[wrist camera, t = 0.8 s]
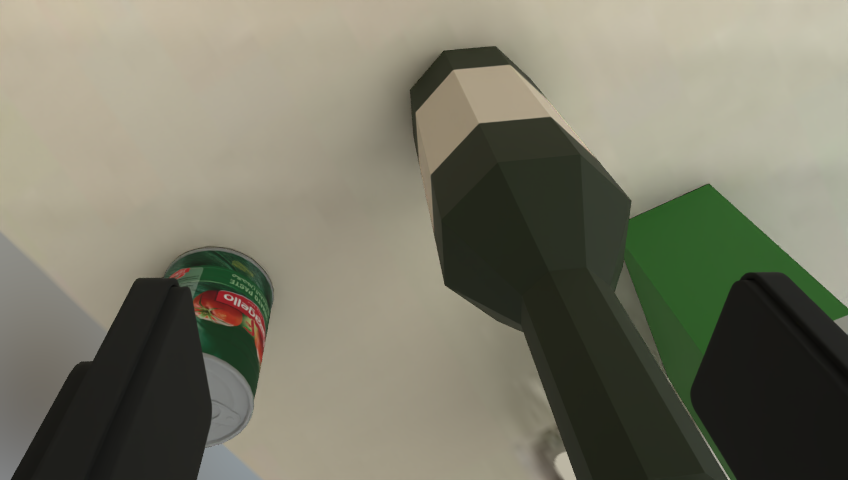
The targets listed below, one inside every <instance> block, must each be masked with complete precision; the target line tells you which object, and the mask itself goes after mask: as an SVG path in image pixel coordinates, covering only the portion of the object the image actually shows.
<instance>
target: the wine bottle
mask: <svg viewBox="0 0 848 480" xmlns="http://www.w3.org/2000/svg"><path fill="white" fill-rule="evenodd" d="M410 95H411V109H412V122H413V135H414V142H415V146H416V151H417V156H418V161H419V165H420V170H421V175H422V179H423V184H424V189H425V194H426V198H427V203H428V208H429V213H430V217H431V222H432V227H433V232H434V236H435V241H436V246H437V251H438V255H439V260H440V265H441V269H442V274H443V279H444V284H445V286H447V287H448V288H450V289H451V290H453V291H454V292H456V293H457V294H458V295H460V296H461V297H463V298H464V299H466V300H467V301H469V302H470V303H472V304H473V305H475V306H476V307H478V308H479V309H480V310H482V311H483V312H485V313H486V314H488V315H489V316H491V317H492V318H494V319H495V320H497V321H498V322H501V323H503V324H505V325H508V326H510V327H512V328H515V329H517V330H519V331H522V332H524V335H525V338H526V340H527V343H528V346H529V349H530V351H531V354H532V357H533V360H534V363H535V365H536V368H537V371H538V374H539V376H540V379H541V382H542V385H543V388H544V390H545V393H546V396H547V399H548V401H549V404H550V407H551V410H552V413H553V415H554V418H555V421H556V424H557V426H558V429H559V432H560V435H561V438H562V440H563V443H564V446H565V449H566V451H567V454H568V457H569V460H570V463H571V465H572V468H573V471H574V473H575V476H576V479H577V480H728V479H727V477H726V476H725V474H724V472H723V471H722V469H721V468H720V466H719V464H718V463H717V461H716V459H715V458H714V456H713V454H712V453H711V451H710V449H709V448H708V446H707V445H706V443H705V441H704V440H703V438H702V436H701V435H700V433H699V431H698V430H697V428H696V426H695V425H694V423H693V421H692V420H691V418H690V417H689V415H688V413H687V412H686V410H685V408H684V407H683V405H682V403H681V402H680V400H679V398H678V397H677V395H676V393H675V392H674V390H673V389H672V387H671V385H670V384H669V382H668V380H667V379H666V377H665V375H664V374H663V372H662V370H661V369H660V367H659V366H658V364H657V362H656V361H655V359H654V357H653V356H652V354H651V352H650V351H649V349H648V347H647V346H646V344H645V342H644V341H643V339H642V338H641V336H640V334H639V333H638V331H637V329H636V328H635V326H634V324H633V323H632V321H631V319H630V318H629V316H628V315H627V313H626V311H625V310H624V308H623V306H622V305H621V303H620V301H619V300H618V298H617V296H616V295H615V293H614V291H615V288H616V285H617V282H618V279H619V276H620V273H621V270H622V267H623V260H624V253H625V245H626V238H627V230H628V223H629V215H630V208H631V200H630V199H629V197H628V196H627V195H626V194H625V193H624V191H623V190H622V189H621V188H620V187H619V185H618V184H617V183H616V182H615V181H614V179H613V178H612V177H611V176H610V174H609V173H608V172H607V171H606V170H605V168H604V167H603V166H602V165H601V164H600V162H599V161H598V160H597V159H596V158H595V156H594V155H593V154H592V153H591V152H590V150H589V149H588V148H587V147H586V145H585V144H584V143H583V142H582V141H581V139H580V138H579V137H578V136H577V135H576V133H575V132H574V131H573V130H572V129H571V127H570V126H569V125H568V124H567V122H566V121H565V120H564V119H563V118H562V116H561V115H560V114H559V113H558V112H557V110H556V109H555V108H554V107H553V106H552V104H551V103H550V102H549V101H548V100H547V98H546V97H545V96H544V95H543V93H542V92H541V91H540V90H539V89H538V87H537V86H536V85H535V84H534V83H533V81H532V80H531V79H530V78H529V77H528V76H527V75H526V74H525V73H524V72H522V71H521V70H520V69H519V68H518V67H517V66H516V65H515V64H514V63H513V62H512V61H511V60H510V59H509V58H508V57H507V56H505V55H504V54H503V53H502V52H501V51H500V50H499V49H498V48H497V47H496V46H493V47H481V48H470V49H458V50H447V51H443V53H442V54H441V55H440V56H439V57H438V58H437V60H436V61H435V62H434V63H433V64H432V65H431V67H430V68H429V69H428V70H427V71H426V72H425V73H424V75H423V76H422V77H421V78H420V79H419V80H418V82H417V83H416V84H415V85H414V86H413V87H412V89H411V90H410Z"/></svg>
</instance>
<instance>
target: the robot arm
mask: <svg viewBox="0 0 848 480" xmlns="http://www.w3.org/2000/svg"><path fill="white" fill-rule="evenodd" d="M690 398H691V403H692V406H693V408H694V410H695V412H696V413H697V415H698V417H699V418H700V420H701V422H702V423H703V425H704V427H705V428H706V430H707V432H708V433H709V435H710V436H711V438H712V440H713V441H714V443H715V445H716V446H717V448H718V450H719V451H720V453H721V455H722V456H723V458H724V460H725V461H726V463H727V464H728V466H729V468H730V469H731V471H732V473H733V474H734V476H735V478H736V479H737V480H848V335H847V334H846V333H845V332H844V331H843V330H842V329H841V328H840V327H839V326H838V325H837V324H836V323H835V322H834V321H833V320H832V319H831V318H830V317H829V316H828V315H827V314H826V313H825V312H824V311H823V310H822V309H821V308H820V307H819V306H818V305H817V304H816V303H815V302H814V301H813V300H812V299H810V298H809V297H808V296H807V295H806V294H805V293H804V292H803V291H802V290H801V289H800V288H799V287H798V286H797V285H796V284H795V283H794V282H793V281H792V280H791V279H790V278H789V277H788V276H787V275H785V274H784V273H781V272H749V273H745V274H744V275H743V276H742V277H741V279H740V280H739V281H736V282H735V283H733V285H732V287H731V289H730V291H729V294H728V296H727V299H726V301H725V304H724V306H723V309H722V311H721V314H720V316H719V319H718V321H717V324H716V326H715V329H714V331H713V334H712V336H711V339H710V341H709V344H708V346H707V349H706V351H705V354H704V356H703V359H702V361H701V364H700V366H699V369H698V371H697V374H696V376H695V379H694V381H693V384H692V387H691V390H690ZM211 420H212V402H211V396H210V391H209V385H208V380H207V375H206V369H205V364H204V358H203V353H202V348H201V342H200V337H199V331H198V326H197V321H196V315H195V310H194V304H193V299H192V294H191V290H190V288H189V287H179V283H178V281H177V279H175V278H138V279H136V281H135V282H134V283H133V285H132V287H131V289H130V291H129V293H128V295H127V297H126V299H125V301H124V302H123V304H122V306H121V308H120V310H119V312H118V314H117V316H116V318H115V320H114V322H113V324H112V325H111V327H110V329H109V331H108V333H107V335H106V337H105V339H104V341H103V343H102V345H101V347H100V348H99V350H98V352H97V354H96V356H95V358H94V360H93V361H90V362H80V363H79V364H77V365H76V366H75V367H74V368H73V370H72V371H71V373H70V374H69V376H68V377H67V379H66V381H65V383H64V385H63V386H62V389H61V390H60V392H59V394H58V396H57V397H56V399H55V401H54V403H53V405H52V407H51V408H50V410H49V412H48V414H47V415H46V417H45V419H44V421H43V423H42V424H41V426H40V428H39V430H38V432H37V433H36V435H35V437H34V439H33V441H32V442H31V444H30V446H29V448H28V450H27V451H26V453H25V455H24V457H23V459H22V460H21V462H20V464H19V466H18V468H17V470H16V471H15V473H14V475H13V477H12V479H11V480H197V476H198V472H199V468H200V464H201V461H202V457H203V453H204V449H205V445H206V441H207V437H208V433H209V430H210V425H211Z"/></svg>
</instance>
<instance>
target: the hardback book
mask: <svg viewBox="0 0 848 480" xmlns="http://www.w3.org/2000/svg"><path fill="white" fill-rule="evenodd" d="M624 260H625V263H626V265H627V268H628V271H629V273H630V276H631V279H632V282H633V284H634V287H635V290H636V292H637V295H638V298H639V300H640V303H641V306H642V308H643V311H644V314H645V317H646V319H647V322H648V325H649V327H650V330H651V333H652V335H653V338H654V341H655V343H656V346H657V349H658V351H659V354H660V357H661V360H662V362H663V365H664V368H665V370H666V373H667V376H668V378H669V380H670V381H671V383H672V385H673V386H674V388H675V389H676V391H677V393H678V394H679V396H680V398H681V399H682V401H683V403H684V404H685V406H686V407H687V409H688V411H689V412H690V414H691V416H692V417H693V419H694V421H695V422H696V424H697V425H698V427H699V429H700V430H701V432H702V434H703V435H704V437H705V439H706V440H707V442H708V444H709V445H710V447H711V448H712V450H713V452H714V453H715V455H716V457H717V458H718V460H719V462H720V463H721V465H722V466H723V468H724V470H725V471H726V473H727V475H728V476H729V478H730V479H731V480H737V479H736V478H735V476H734V474H733V473H732V471H731V469H730V468H729V466H728V464H727V463H726V461H725V460H724V458H723V456H722V455H721V453H720V451H719V450H718V448H717V446H716V445H715V443H714V441H713V440H712V438H711V436H710V435H709V433H708V432H707V430H706V428H705V427H704V425H703V423H702V422H701V420H700V418H699V417H698V415H697V413H696V412H695V410H694V408H693V406H692V403H691V398H690V390H691V387H692V384H693V381H694V379H695V376H696V374H697V371H698V369H699V366H700V364H701V361H702V359H703V356H704V354H705V351H706V349H707V346H708V344H709V341H710V339H711V336H712V334H713V331H714V329H715V326H716V324H717V321H718V319H719V316H720V314H721V311H722V309H723V306H724V304H725V301H726V299H727V296H728V294H729V291H730V289H731V287H732V285H733V283H735V282H736V281H739V280H740V279H741V277H742V276H743V275H744V274H745V273H749V272H781V273H784V274H785V275H787V276H788V277H789V278H790V279H791V280H792V281H793V282H794V283H795V284H796V285H797V286H798V287H799V288H800V289H801V290H802V291H803V292H804V293H805V294H806V295H807V296H808V297H809V298H810V299H812V300H813V301H814V302H815V303H816V304H817V305H818V306H819V307H820V308H821V309H822V310H823V311H824V312H825V313H826V314H827V315H828V316H829V317H830V318H831V319H832V320H833V321H834V322H835V323H836V324H837V325H838V326H839V327H840V328H841V329H842V330H843V331H844V332H845V333H846V334H847V335H848V308H847V307H846V306H845V305H843V304H842V303H841V302H840V301H839V300H838V299H837V298H836V297H835V296H833V295H832V294H831V293H830V292H829V291H828V290H827V289H826V288H825V287H823V286H822V285H821V284H820V283H819V282H818V281H817V280H816V279H815V278H813V277H812V276H811V275H810V274H809V273H808V272H807V271H806V270H805V269H803V268H802V267H801V266H800V265H799V264H798V263H797V262H796V261H794V260H793V259H792V258H791V257H790V256H789V255H788V254H787V253H786V252H784V251H783V250H782V249H781V248H780V247H779V246H778V245H777V244H776V243H774V242H773V241H772V240H771V239H770V238H769V237H768V236H767V235H766V234H764V233H763V232H762V231H761V230H760V229H759V228H758V227H757V226H756V225H754V224H753V223H752V222H751V221H750V220H749V219H748V218H747V217H746V216H744V215H743V214H742V213H741V212H740V211H739V210H738V209H737V208H735V207H734V206H733V205H732V204H731V203H730V202H729V201H728V200H727V199H725V198H724V197H723V196H722V195H721V194H720V193H719V192H718V191H717V190H715V189H714V188H713V187H712V186H711V185H710V184H707V185H705V186H703V187H701V188H698V189H696V190H694V191H692V192H690V193H687V194H685V195H683V196H681V197H678V198H676V199H674V200H672V201H669V202H667V203H665V204H663V205H660V206H658V207H656V208H654V209H652V210H649V211H647V212H645V213H643V214H640V215H638V216H636V217H634V218H631V219H629V223H628V230H627V238H626V245H625V253H624Z"/></svg>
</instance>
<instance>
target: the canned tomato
mask: <svg viewBox="0 0 848 480" xmlns="http://www.w3.org/2000/svg"><path fill="white" fill-rule="evenodd" d="M163 278H175V279H177V281H178V283H179V287H189V288H190V290H191V294H192V299H193V304H194V310H195V315H196V321H197V326H198V331H199V337H200V342H201V348H202V353H203V358H204V364H205V369H206V375H207V380H208V385H209V391H210V396H211V402H212V420H211V425H210V430H209V433H208V437H207V441H206V445H205V448H207V447H212V446H215V445H219V444H222V443H224V442H226V441H228V440H230V439H232V438H233V437H235V436H236V435H238V434H239V433H240V432H241V431H242V430H243V429H244V428H245V427H246V426H247V424H248V422H249V421H250V419H251V417H252V413H253V409H254V397H255V393H256V389H257V383H258V378H259V372H260V366H261V362H262V356H263V352H264V346H265V340H266V334H267V330H268V324H269V318H270V312H271V308H272V304H273V287H272V284H271V281H270V279H269V277H268V275H267V273H266V272H265V271H264V270H263V269H262V267H261V266H260V265H259V264H257V263H256V262H255V261H254V260H252V259H251V258H249V257H247V256H246V255H244V254H242V253H239V252H236V251H234V250H230V249H225V248H216V247H207V248H199V249H196V250H192V251H189V252H187V253H185V254H183V255H181V256H179V257H178V258H177V259H176V260H175V261H173V262H172V263H171V265H170V266H169V268H168V269H167V270H166V272H165V275H164V277H163Z"/></svg>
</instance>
